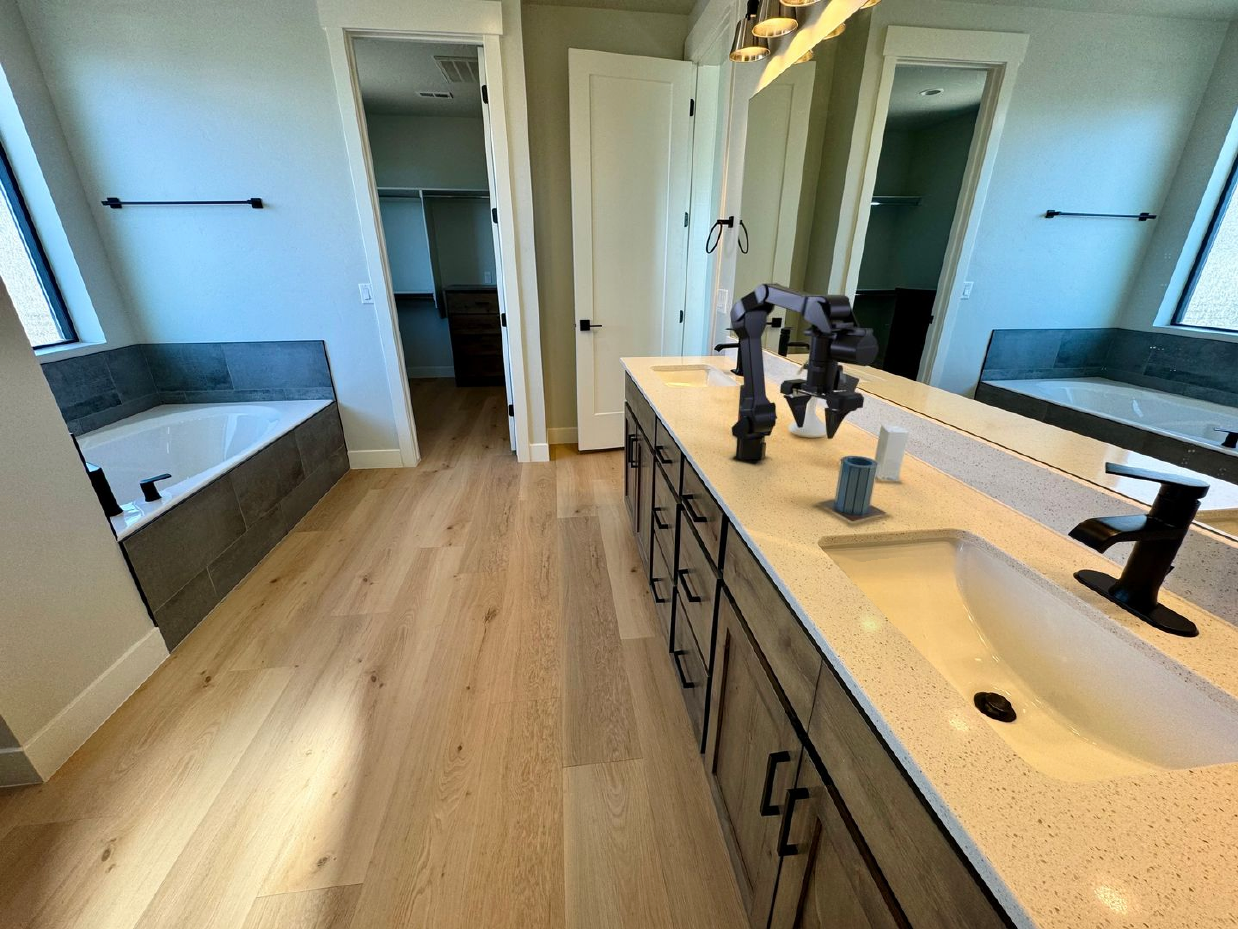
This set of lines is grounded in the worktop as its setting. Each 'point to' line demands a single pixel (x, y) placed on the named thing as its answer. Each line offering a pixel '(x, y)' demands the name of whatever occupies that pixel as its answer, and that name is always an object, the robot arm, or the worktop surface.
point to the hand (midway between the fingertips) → (814, 432)
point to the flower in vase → (809, 419)
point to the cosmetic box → (890, 452)
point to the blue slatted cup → (855, 485)
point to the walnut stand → (851, 517)
